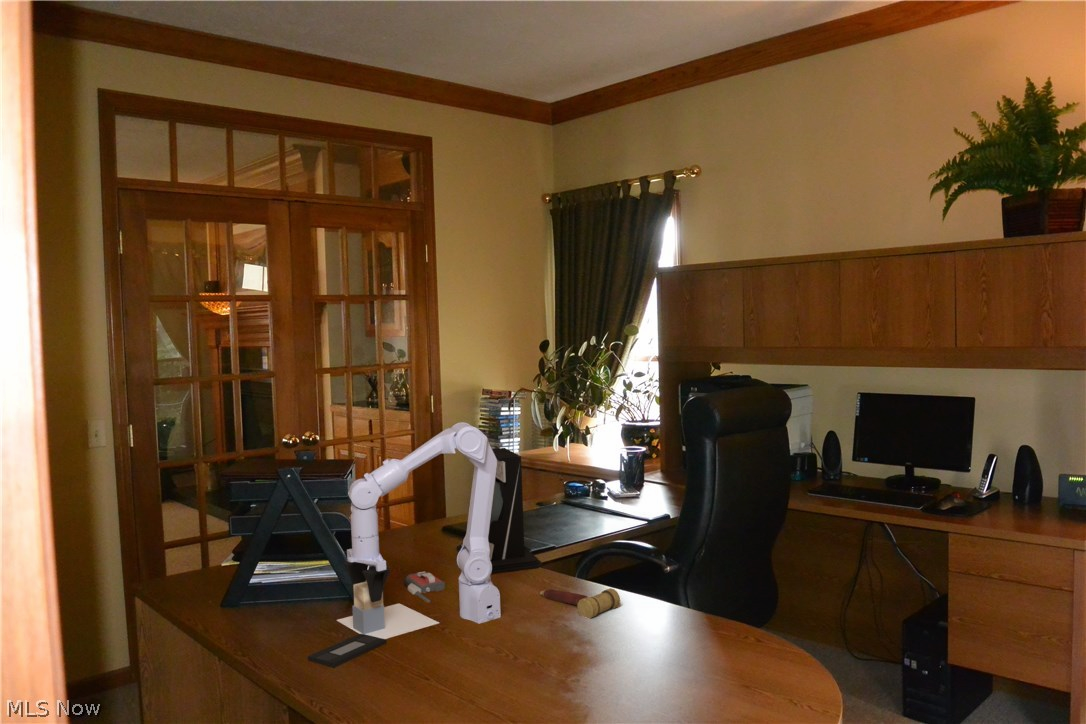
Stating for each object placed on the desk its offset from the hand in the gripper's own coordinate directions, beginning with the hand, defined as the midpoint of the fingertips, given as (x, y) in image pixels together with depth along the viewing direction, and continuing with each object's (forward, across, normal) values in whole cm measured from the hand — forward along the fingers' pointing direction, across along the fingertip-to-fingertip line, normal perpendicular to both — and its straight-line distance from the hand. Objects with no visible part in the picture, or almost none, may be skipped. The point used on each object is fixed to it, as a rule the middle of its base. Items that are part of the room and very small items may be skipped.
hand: (367, 596), depth 181 cm
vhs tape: (+8, +9, -9) cm, 15 cm away
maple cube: (+2, 0, 0) cm, 2 cm away
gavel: (+9, +17, +44) cm, 48 cm away
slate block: (+7, 0, 0) cm, 7 cm away
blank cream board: (+8, -1, +5) cm, 9 cm away
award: (+8, -28, +55) cm, 62 cm away
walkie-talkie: (+9, -15, +23) cm, 29 cm away
